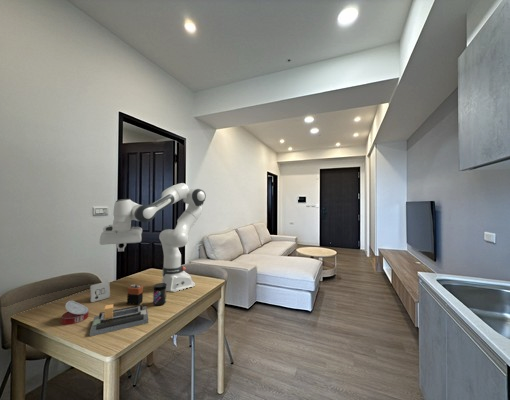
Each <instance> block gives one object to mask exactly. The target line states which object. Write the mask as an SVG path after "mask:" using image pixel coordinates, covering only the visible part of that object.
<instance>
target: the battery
mask: <svg viewBox="0 0 510 400" xmlns="http://www.w3.org/2000/svg"><path fill="white" fill-rule="evenodd" d="M143 294H144V285H140V284H138V285H136V284H130V286H128V287H127V296H126V297H127V298H126V300H127V301H126V304H127V305H132V306H138V305H141V303H143V302H144V301H143V297H144V295H143Z"/></svg>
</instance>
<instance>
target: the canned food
mask: <svg viewBox="0 0 510 400" xmlns="http://www.w3.org/2000/svg"><path fill="white" fill-rule="evenodd" d="M64 307H65V309H66V312H65V313H63V314H62V315H61V325H64V326H66V325H68V326H71V325H75V324H79V323H81V322H83V321H85V320H86V319H88V317H89V312H90V311H89V308H88V307H87V306H86V305H83V304H81V303H80V302H76V301H74V300H68V301H67V302H66V303H65V306H64Z"/></svg>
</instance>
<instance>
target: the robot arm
mask: <svg viewBox="0 0 510 400" xmlns="http://www.w3.org/2000/svg"><path fill="white" fill-rule="evenodd" d="M161 192H162V193H161V198H160V199H158V200H156V201H154V202H153V203H150V204H139V203H136V202H135V201H133V200H131V199H130V198H124V199H117V200H115V202H114V205H113V213H112V214H113V220H112V224H109V225H105V226H103V228H102V232H101V234H100V237H99V244H100V245H101V246H102V245H115V246H116V249H117V252H125V248H126V247H127V244H137V243H141V242H142V234H143V228H142V227H140V226H132V221H137V222H141V223H150V222H151V221H152V220H154V218H155V217H156V216H157V215H158V214H159V213H160V212H161V211H163V210H164V209H166V208H168V207H169V206H171V205H173V204H176V203H177V202H179V201H181V202H182V203H184V204H186V205H187V208H186V209H185V210H184V211H183V212H182V214H181V215H180V216H179V217H178V218H177V220H176V222H177V223H176V226H175V228H174V229H172V228H171V229H170V228H168V229H167V228H166V229H164V230H162V231H161V232H160V233H159V236H158V237H159V241H160V243H161V246H162V252H163V267H162V278H161V283H166V284H167V286H166V292H170V293H175V292H180V291H184V290H187V289H186V288H188V289H190V288H189V287H192V288H194V287H193V286H196V283H195V281H193V280H192V276H191V275H190V274H189V273H188V272H186V267H185V266H184V265H182V254H181V252H180V250H179V248H183V247H185V246H186V245H187V244H188V242H189V233H190V231H191V229H192V228H193V226H194V225H195V223H196V222H197V220H198V219H199V217H200V216H201V214H202V212H203V207H202V206H203V205H204V202H205V201H206V196H207V195H206V192H205V191H204V190H203V189H200V188H191V189H190V188H189V186H188V185H187V184H186V183H184V182H181V183H177V184H174V185H171V186H169V187H168V188H166V189H165V190H163V191H161ZM120 244H123V246H122V247H120ZM183 289H184V290H183ZM179 290H180V291H179Z"/></svg>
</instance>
